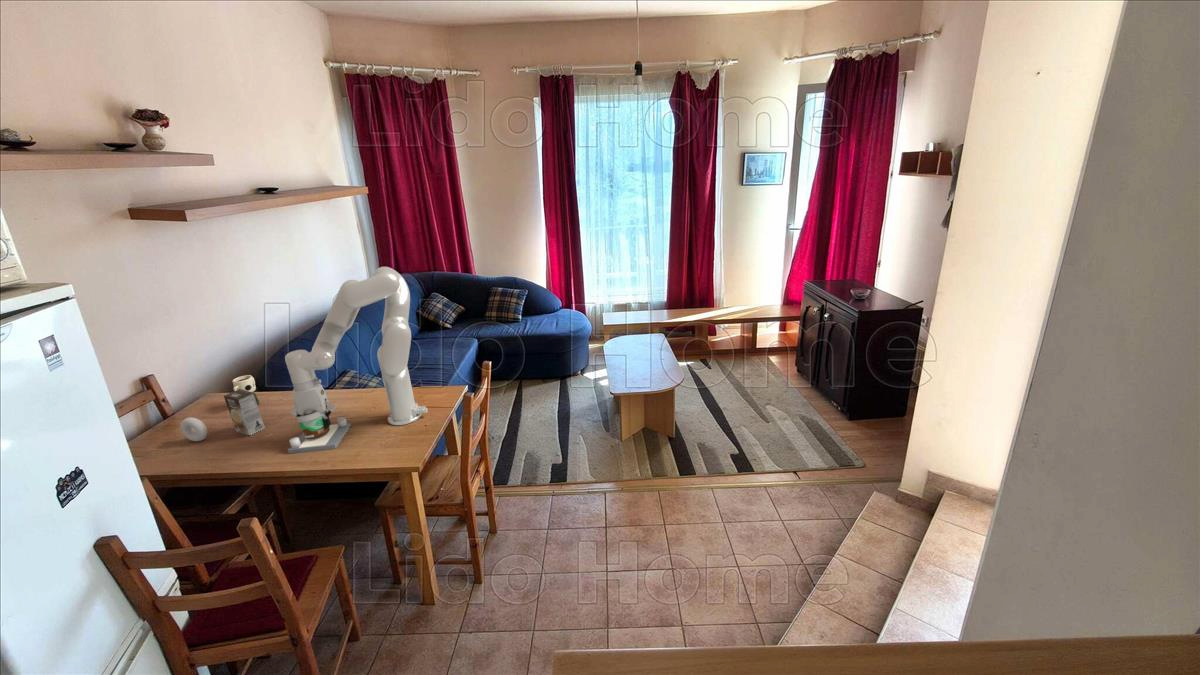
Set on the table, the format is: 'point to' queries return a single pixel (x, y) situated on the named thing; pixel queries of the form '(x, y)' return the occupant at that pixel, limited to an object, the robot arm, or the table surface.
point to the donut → (197, 425)
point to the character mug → (245, 384)
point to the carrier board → (320, 439)
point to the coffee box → (244, 411)
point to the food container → (312, 425)
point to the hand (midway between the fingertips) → (318, 427)
